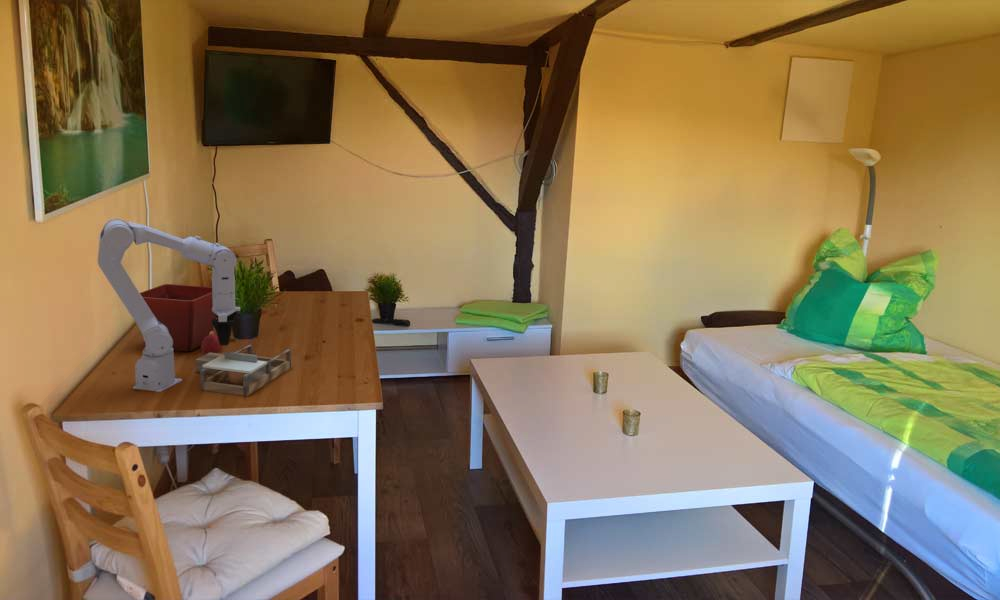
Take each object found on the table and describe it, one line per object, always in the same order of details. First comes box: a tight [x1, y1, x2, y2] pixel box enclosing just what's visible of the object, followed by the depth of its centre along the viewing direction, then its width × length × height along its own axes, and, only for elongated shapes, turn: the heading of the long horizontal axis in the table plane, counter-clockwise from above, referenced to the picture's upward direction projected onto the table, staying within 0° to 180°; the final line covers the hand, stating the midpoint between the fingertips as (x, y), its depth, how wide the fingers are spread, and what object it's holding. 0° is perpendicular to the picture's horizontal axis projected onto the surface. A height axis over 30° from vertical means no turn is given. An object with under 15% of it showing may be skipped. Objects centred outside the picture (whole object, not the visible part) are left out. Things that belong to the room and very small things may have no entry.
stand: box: [194, 353, 224, 375], centre depth 204 cm, size 7×7×4 cm
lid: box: [202, 351, 267, 374], centre depth 192 cm, size 8×14×2 cm, turn 79°
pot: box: [228, 371, 246, 386], centre depth 194 cm, size 4×4×5 cm
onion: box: [200, 330, 223, 355], centre depth 215 cm, size 6×6×8 cm
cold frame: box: [199, 344, 292, 397], centre depth 199 cm, size 24×13×6 cm, turn 169°
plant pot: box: [139, 283, 217, 352], centre depth 224 cm, size 19×19×17 cm
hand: (225, 340), depth 198 cm, fingers open, 7 cm apart
